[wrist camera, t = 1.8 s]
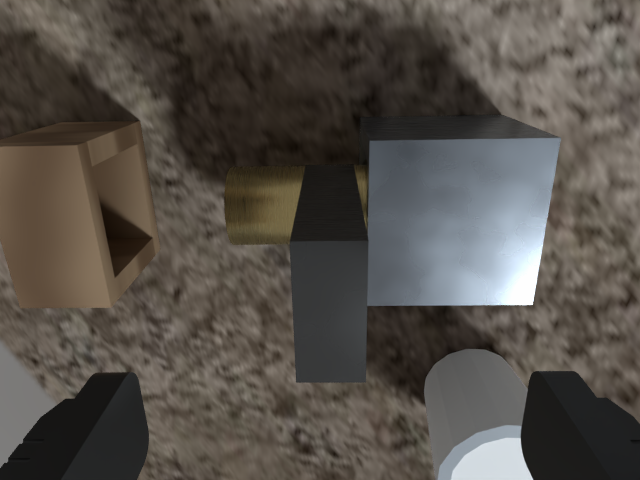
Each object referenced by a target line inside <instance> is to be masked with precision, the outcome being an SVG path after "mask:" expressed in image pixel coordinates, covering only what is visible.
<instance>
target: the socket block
mask: <svg viewBox="0 0 640 480" xmlns="http://www.w3.org/2000/svg"><path fill="white" fill-rule="evenodd" d="M0 241H1V244H2V247H3V251H4V254H5V258H6V261H7V264H8V268H9V271H10V275H11V278H12V281H13V285H14V288H15V292H16V295H17V298H18V302H19V305H20V308H111V307H112V306H113V305H114V304H115V303H116V301H117V300H118V299H119V298H120V297H121V295H122V294H123V293H124V292H125V291H126V289H127V288H128V287H129V286H130V285H131V284H132V282H133V281H134V280H135V279H136V278H137V276H138V275H139V274H140V273H141V272H142V270H143V269H144V268H145V267H146V266H147V265H148V263H149V262H150V261H151V260H152V259H153V257H154V256H155V255H156V254H157V253H158V251H159V250H160V243H159V237H158V231H157V224H156V218H155V212H154V206H153V199H152V193H151V187H150V180H149V174H148V168H147V161H146V155H145V149H144V142H143V136H142V130H141V124H140V121H103V122H60V123H57V124H53V125H50V126H46V127H43V128H39V129H36V130H32V131H28V132H25V133H21V134H18V135H14V136H11V137H7V138H3V139H0Z"/></svg>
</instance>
